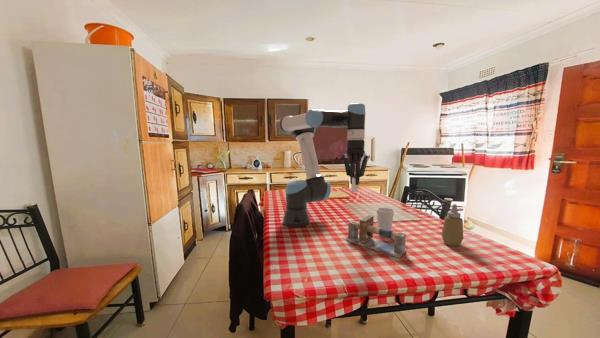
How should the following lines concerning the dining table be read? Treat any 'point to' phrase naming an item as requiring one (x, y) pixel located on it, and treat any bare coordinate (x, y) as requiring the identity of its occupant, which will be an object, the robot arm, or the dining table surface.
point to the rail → (387, 248)
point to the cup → (385, 218)
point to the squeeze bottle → (453, 228)
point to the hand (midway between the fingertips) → (354, 191)
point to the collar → (363, 234)
